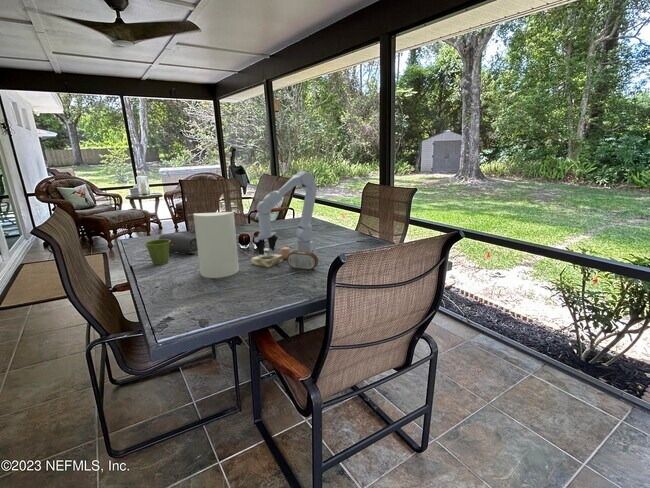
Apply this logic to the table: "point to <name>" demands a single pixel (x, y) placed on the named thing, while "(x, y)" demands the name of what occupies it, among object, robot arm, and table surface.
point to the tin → (302, 260)
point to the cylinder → (216, 244)
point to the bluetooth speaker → (181, 243)
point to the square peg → (267, 253)
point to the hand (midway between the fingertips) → (266, 252)
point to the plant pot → (158, 250)
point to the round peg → (285, 252)
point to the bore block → (267, 260)
